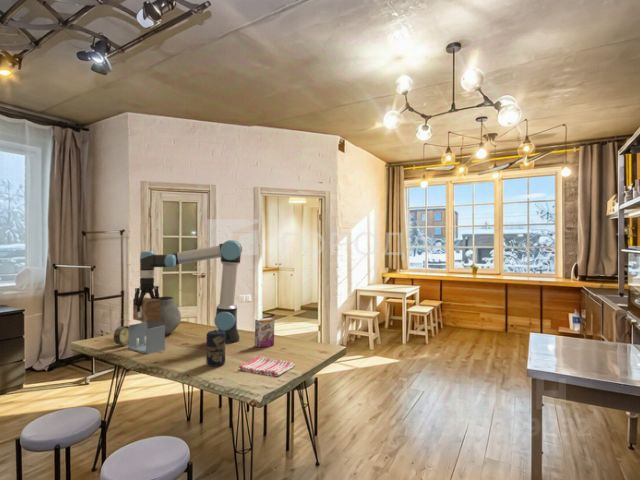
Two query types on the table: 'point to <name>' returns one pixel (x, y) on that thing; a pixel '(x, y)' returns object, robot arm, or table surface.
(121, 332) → the alarm clock
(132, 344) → the cradle
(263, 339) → the candy bar box
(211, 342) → the canister
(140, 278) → the robot arm
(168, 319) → the ceramic pot
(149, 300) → the brown box
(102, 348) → the table surface
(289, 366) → the dish towel
